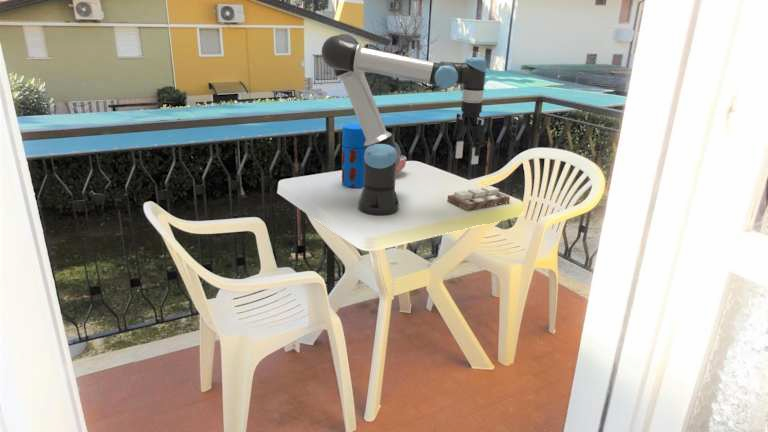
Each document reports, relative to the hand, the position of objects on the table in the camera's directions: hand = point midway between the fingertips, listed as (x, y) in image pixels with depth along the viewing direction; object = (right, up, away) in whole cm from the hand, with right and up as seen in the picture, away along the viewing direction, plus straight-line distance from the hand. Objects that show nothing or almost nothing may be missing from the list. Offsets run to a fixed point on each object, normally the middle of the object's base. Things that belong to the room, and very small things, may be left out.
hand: (466, 160), depth 203 cm
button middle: (+5, -13, +9) cm, 17 cm away
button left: (-1, -14, +5) cm, 15 cm away
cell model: (-32, -2, +40) cm, 51 cm away
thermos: (-44, -8, +24) cm, 51 cm away
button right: (+11, -12, +12) cm, 21 cm away
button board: (+6, -16, +8) cm, 19 cm away
